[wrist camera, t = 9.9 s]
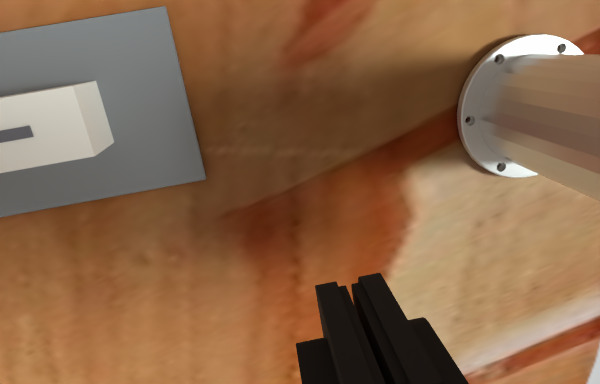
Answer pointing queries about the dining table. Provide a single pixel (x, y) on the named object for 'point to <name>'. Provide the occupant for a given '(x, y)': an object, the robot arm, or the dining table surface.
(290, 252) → the dining table surface
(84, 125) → the letter block
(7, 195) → the mat
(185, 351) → the dining table surface
